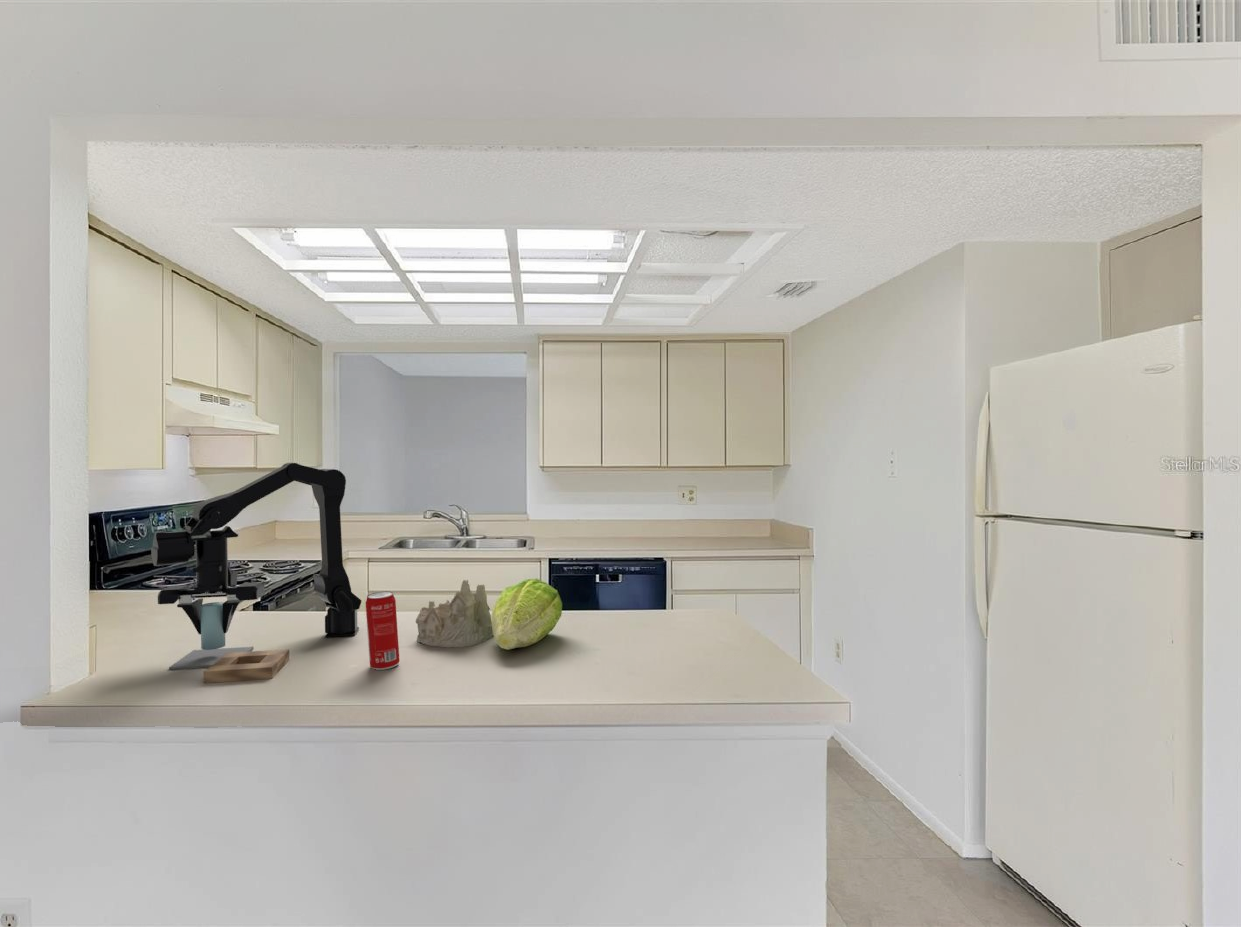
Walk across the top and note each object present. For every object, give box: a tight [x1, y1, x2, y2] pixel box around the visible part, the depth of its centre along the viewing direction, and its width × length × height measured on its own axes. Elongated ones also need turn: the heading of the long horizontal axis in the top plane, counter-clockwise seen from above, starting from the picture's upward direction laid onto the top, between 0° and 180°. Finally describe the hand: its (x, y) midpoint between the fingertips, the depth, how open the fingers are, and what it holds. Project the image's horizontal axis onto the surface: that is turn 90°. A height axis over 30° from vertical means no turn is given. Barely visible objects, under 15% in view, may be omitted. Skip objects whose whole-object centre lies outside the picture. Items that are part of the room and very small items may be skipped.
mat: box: [168, 646, 254, 671], centre depth 142 cm, size 12×12×1 cm
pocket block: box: [203, 648, 290, 684], centre depth 134 cm, size 12×12×2 cm
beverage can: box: [365, 590, 400, 671], centre depth 137 cm, size 6×6×15 cm
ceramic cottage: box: [415, 579, 494, 648], centre depth 158 cm, size 16×16×15 cm
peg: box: [200, 601, 226, 650], centre depth 142 cm, size 4×4×9 cm
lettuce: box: [490, 578, 563, 651], centre depth 152 cm, size 14×24×15 cm
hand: (213, 633), depth 142 cm, fingers closed on peg, 4 cm apart
